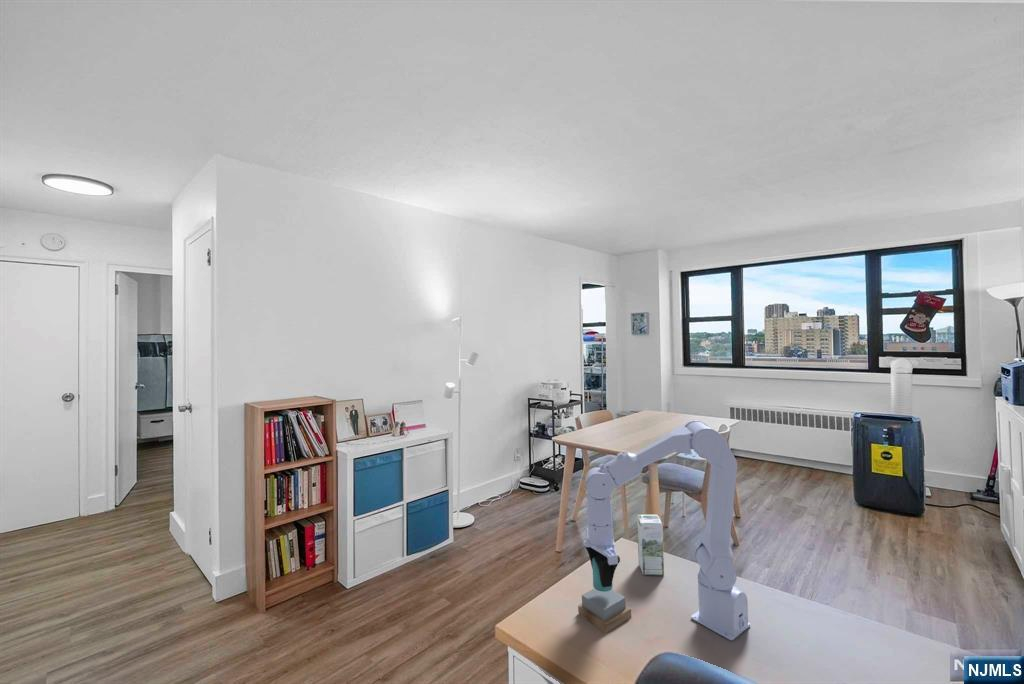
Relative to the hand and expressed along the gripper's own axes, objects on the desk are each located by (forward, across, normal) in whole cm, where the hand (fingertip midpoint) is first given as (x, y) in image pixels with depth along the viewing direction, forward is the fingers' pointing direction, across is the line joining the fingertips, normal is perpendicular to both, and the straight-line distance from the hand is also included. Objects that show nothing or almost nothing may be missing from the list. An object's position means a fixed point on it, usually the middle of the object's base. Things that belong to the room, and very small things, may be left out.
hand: (602, 579), depth 100 cm
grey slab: (+6, 0, 0) cm, 6 cm away
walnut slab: (+9, 0, 0) cm, 9 cm away
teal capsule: (+1, 0, 0) cm, 1 cm away
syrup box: (+8, -15, +20) cm, 26 cm away
